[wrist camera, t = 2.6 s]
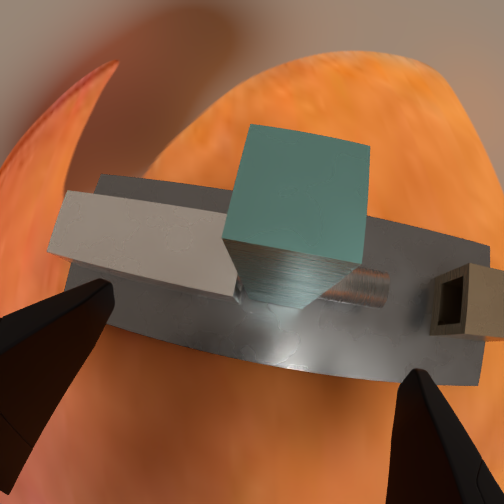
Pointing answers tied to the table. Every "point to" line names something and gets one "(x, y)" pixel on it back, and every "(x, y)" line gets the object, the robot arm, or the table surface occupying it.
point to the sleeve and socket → (272, 315)
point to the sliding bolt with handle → (302, 220)
